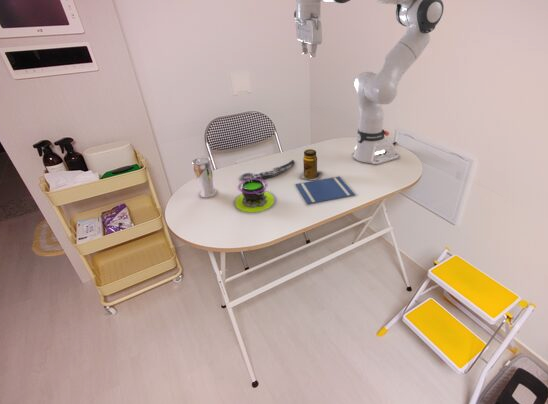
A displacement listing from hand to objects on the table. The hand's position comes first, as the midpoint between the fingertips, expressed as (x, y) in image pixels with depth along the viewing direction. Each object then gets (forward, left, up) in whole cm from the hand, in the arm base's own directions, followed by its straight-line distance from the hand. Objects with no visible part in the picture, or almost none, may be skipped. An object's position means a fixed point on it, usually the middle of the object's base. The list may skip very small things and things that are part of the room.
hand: (308, 55), depth 118 cm
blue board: (+1, +23, -48) cm, 53 cm away
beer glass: (+47, +10, -48) cm, 68 cm away
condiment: (+2, +9, -48) cm, 49 cm away
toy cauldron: (+30, +22, -48) cm, 61 cm away
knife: (+19, 0, -48) cm, 52 cm away
